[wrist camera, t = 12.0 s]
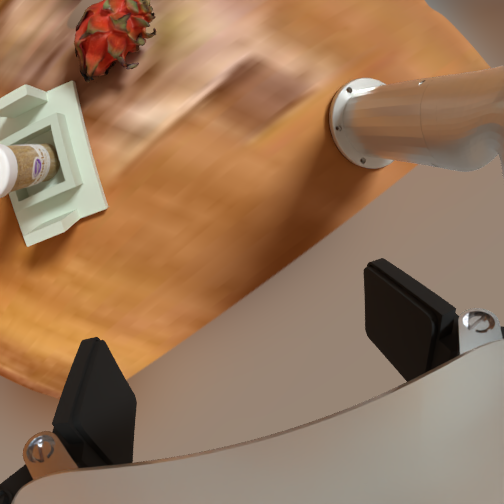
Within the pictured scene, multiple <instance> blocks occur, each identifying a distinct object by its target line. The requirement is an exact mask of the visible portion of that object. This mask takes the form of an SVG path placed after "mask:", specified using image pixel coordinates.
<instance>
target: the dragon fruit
mask: <svg viewBox="0 0 504 504" xmlns="http://www.w3.org/2000/svg"><path fill="white" fill-rule="evenodd" d="M152 10H153V8H152V7H151V6H150V0H103V1H101V2H99V3H96V4H93V5H91V6H90V7H88V8H87V9H86V10H85V12H84V15H83V16H82V18H81V20H80V21H79V23H78V25H77V26H76V34H75V41H74V44H75V52H76V57H77V55H78V56H79V61H80V72H81V74H82V76H83V77H84V79H85V81H86V82H90V80H89V79H91V80H93V78H92V77H99V76H101V75H107V74H108V71H109V69H111V68H112V67H113V66H114V64H115V63H116V62H115V63H113V64H112V62H113V61H114V60H118V61H119V62H120V64H121V65H122V66H123V67H127V68H126V69H133V68H135V67H136V66H137V65H138V64H139V63H133V64H127V63H125V58H126V55H127V53H128V52H131V53H132V52H137V51H139V45H142V46H143V45H144V44H145V42H146V39H144V38H151V37H153V36H154V35H156V29H155V28H154V29H153V30H154V32H153V33H151V34H148V33H146V27H149V26H150V25H149V23H150V22H151V21H152V20H153V19H154V18H155V16H154V13H151V12H152ZM111 64H112V66H111ZM87 72H88V77H87V75H86V73H87Z"/></svg>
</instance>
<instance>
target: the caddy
mask: <svg viewBox="0 0 504 504" xmlns="http://www.w3.org/2000/svg"><path fill="white" fill-rule="evenodd" d="M43 143H47V144H51V145H53V146H54V147H55V148H56V150H57V154H58V157H59V161H60V167H59V169H58V172H57V174H56V175H55V176H54V177H53V178H52V179H50V180H49V181H45V182H40V183H38V184H36V185H33V186H30V187H27V188H22V189H19V190H15V191H12V192H9V196H10V199H11V202H12V205H13V209H14V212H15V214H16V217H17V220H18V223H19V226H20V228H21V231H22V234H23V237H24V240H25V243H26V245H27V247H29V246H31V245H33V244H36V243H38V242H41V241H43V240H46V239H48V238H51V237H53V236H56V235H58V234H61V233H63V232H65V231H66V230H68V229H69V228H70V227H71V226H72V225H73V224H74V223H76V222H77V221H78V220H79V219H80V218H83V217H86V216H88V215H91V214H94V213H96V212H99V211H102V210H105V209H107V208H108V204H107V201H106V198H105V195H104V192H103V188H102V185H101V182H100V179H99V175H98V172H97V168H96V165H95V162H94V158H93V154H92V151H91V147H90V143H89V140H88V136H87V132H86V128H85V124H84V120H83V115H82V111H81V107H80V102H79V98H78V93H77V88H76V83H75V82H74V81H73V80H72V81H69V82H67V83H65V84H63V85H60V86H58V87H56V88H54V89H52V90H50V91H47V92H45V91H42V90H40V89H37V88H34V87H32V86H29V85H26V84H25V85H23V86H21V87H20V88H18V89H16V90H14V91H12V92H11V93H9V94H7V95H5V96H4V97H2V98H0V144H3V145H6V146H11V145H20V144H43Z"/></svg>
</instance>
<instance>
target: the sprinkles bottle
mask: <svg viewBox="0 0 504 504" xmlns="http://www.w3.org/2000/svg"><path fill="white" fill-rule="evenodd" d="M59 167H60V161H59V157H58V154H57V150H56V148H55V147H54V146H53V145H51V144H47V143H43V144H20V145H11V146H6V145H3V144H0V198H2V197H4V196H6V195H7V194H8V193H9V192H12V191H15V190H19V189H22V188H27V187H30V186H33V185H36V184H38V183H40V182H45V181H49V180H50V179H52V178H53V177H54V176H55V175H56V174H57V172H58V169H59Z"/></svg>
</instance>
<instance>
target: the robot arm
mask: <svg viewBox="0 0 504 504" xmlns="http://www.w3.org/2000/svg"><path fill="white" fill-rule="evenodd" d="M346 90H347V91H346ZM329 124H330V130H331V134H332V137H333V140H334V142H335V144H336V146H337V148H338V149H339V150H340V152H341V153H342V154H343V155H344V156H345V157H346V158H347V159H348V160H349V161H351V162H352V163H354V164H356V165H358V166H361V167H364V168H370V169H377V168H382V167H385V166H387V165H389V164H391V163H392V162H393V161H394V160H396V161H403V162H409V163H416V164H422V165H428V166H434V167H440V168H445V169H450V170H456V171H464V172H467V171H474V170H477V169H480V168H482V167H484V166H485V165H487V164H488V163H489V162H491V161H492V160H493V159H494V158H495V157H496V156H497V155H498V154H499V157H500V160H501V166H502V173H503V177H504V65H503V66H499V67H496V68H490V69H486V70H481V71H475V72H468V73H461V74H453V75H445V76H439V77H431V78H424V79H417V80H411V81H405V82H399V83H393V84H388V85H386V84H385V83H383V82H381V81H379V80H376V79H372V78H360V79H355V80H352V81H350V82H348V83H346V84H345V85H343V86H342V87H341V88H340V89H339V90H338V92H337V93H336V95H335V96H334V98H333V101H332V103H331V107H330V113H329ZM336 127H337V130H336ZM360 159H361V161H360ZM364 289H365V330H366V333H367V336H368V337H369V339H370V340H371V341H372V342H373V343H374V344H375V345H376V347H377V348H378V349H379V350H380V351H381V352H382V353H383V354H384V355H385V357H386V358H387V359H388V360H389V361H390V362H391V364H392V365H393V366H394V367H395V368H396V369H397V370H398V372H399V373H400V374H401V375H402V376H403V377H404V379H405V380H406V381H407V382H406V383H404V384H402V385H400V386H398V387H395V388H393V389H391V390H389V391H387V392H385V393H383V394H380V395H378V396H376V397H374V398H371V399H369V400H367V401H364V402H362V403H359V404H357V405H355V406H352V407H350V408H347V409H345V410H342V411H339V412H337V413H334V414H332V415H329V416H326V417H324V418H321V419H318V420H315V421H312V422H309V423H307V424H304V425H301V426H298V427H295V428H291V429H288V430H285V431H282V432H279V433H275V434H272V435H269V436H265V437H261V438H258V439H254V440H251V441H247V442H243V443H239V444H235V445H231V446H227V447H222V448H218V449H213V450H208V451H204V452H199V453H194V454H188V455H183V456H177V457H171V458H165V459H158V460H151V461H143V462H136V463H132V461H133V441H134V428H135V416H136V404H137V402H136V398H135V395H134V393H133V391H132V390H131V388H130V386H129V384H128V383H127V381H126V379H125V377H124V376H123V374H122V372H121V370H120V369H119V367H118V365H117V363H116V361H115V359H114V358H113V356H112V354H111V352H110V350H109V348H108V346H107V344H106V342H105V341H104V340H100V339H99V338H98V337H94V338H90V339H85V340H82V342H81V344H80V346H79V349H78V351H77V354H76V357H75V359H74V362H73V364H72V367H71V370H70V372H69V375H68V378H67V381H66V383H65V386H64V389H63V392H62V395H61V398H60V401H59V404H58V407H57V410H56V413H55V416H54V419H53V422H52V425H53V426H54V429H53V432H49V431H44V432H40V433H37V434H36V435H34V436H33V437H31V438H30V439H29V440H28V442H27V443H26V444H25V447H24V449H23V458H24V461H25V463H26V464H25V465H24V466H23V467H22V468H20V469H19V470H18V471H17V472H15V473H14V474H13V475H12V476H10V477H9V478H8V479H6V480H5V481H4V482H2V483H1V484H0V504H504V327H501V326H500V323H499V320H498V318H497V317H496V316H495V315H494V314H493V313H492V312H490V311H488V310H485V309H479V308H474V309H469V310H466V311H464V312H463V313H461V315H460V316H458V315H457V314H456V313H455V311H456V308H455V307H453V306H452V305H450V304H449V303H448V302H446V301H445V300H444V299H442V298H441V297H439V296H438V295H437V294H435V293H434V292H432V291H431V290H429V289H428V288H426V287H425V286H424V285H422V284H421V283H419V282H418V281H417V280H415V279H413V278H412V277H411V276H409V275H408V274H406V273H405V272H403V271H402V270H400V269H399V268H397V267H396V266H394V265H393V264H391V263H390V262H388V261H387V260H385V259H383V258H381V259H378V260H375V261H372V262H369V263H368V265H367V267H366V268H365V269H364Z"/></svg>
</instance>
